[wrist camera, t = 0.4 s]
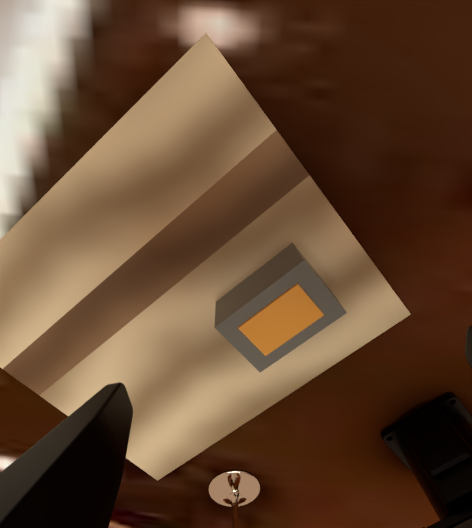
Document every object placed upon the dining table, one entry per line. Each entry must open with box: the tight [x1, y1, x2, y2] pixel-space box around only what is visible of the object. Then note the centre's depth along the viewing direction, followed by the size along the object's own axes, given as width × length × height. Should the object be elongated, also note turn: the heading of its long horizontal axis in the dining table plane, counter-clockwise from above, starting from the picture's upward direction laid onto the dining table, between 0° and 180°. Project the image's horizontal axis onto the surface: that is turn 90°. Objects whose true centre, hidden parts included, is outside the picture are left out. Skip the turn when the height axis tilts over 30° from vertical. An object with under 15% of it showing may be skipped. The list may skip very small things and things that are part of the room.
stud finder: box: [214, 243, 347, 372], centre depth 19 cm, size 4×6×3 cm, turn 130°
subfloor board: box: [0, 34, 411, 480], centre depth 21 cm, size 20×23×1 cm
